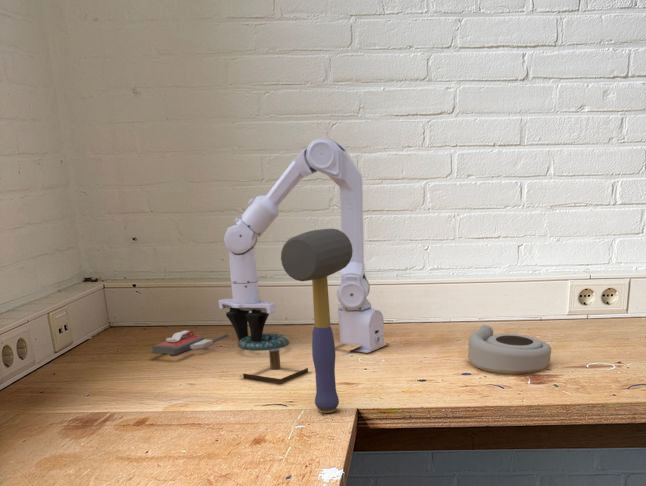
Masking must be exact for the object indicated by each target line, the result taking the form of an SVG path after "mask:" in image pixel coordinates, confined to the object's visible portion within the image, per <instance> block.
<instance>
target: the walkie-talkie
mask: <svg viewBox="0 0 646 486" xmlns="http://www.w3.org/2000/svg"><path fill="white" fill-rule="evenodd" d="M227 337H229V334H228V333H225V334H223V335H220V336H218V337H216V338H214V339H207V338H206V339H205V337H204V336H203V335H195V333H194V331H193V330H180V331H178V332H175V333H173V335H172V336H171V337H167V338H165V341H163V342H161V343H157V344H155V345H152V346H151V350H152V354H153V355H155V354H158V355H163V354H167V355H169V356H170V357H177V356H180V355H182V354H184V353H187V352H189V351H194V350H197V349H203V348H206V347H208V346H210V345H213V344H214V343H215V342H219V341H220V340H222V339H225V338H227Z"/></svg>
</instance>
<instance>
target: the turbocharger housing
mask: <svg viewBox="0 0 646 486" xmlns="http://www.w3.org/2000/svg"><path fill="white" fill-rule="evenodd" d="M551 355H552V347H551V346H550V344H549V343H547V342H545V341H542V340H540V339H539V338H535V337H534V336H529V335H527V334H526V335H525V334H518V333H499V334H494V329H493V327H492V326H491V325H488V324H482V325H481V326H480V327H479V328H478V329H477V330H475V331H473V332H472V333H471V334H470V335H469V338H468V349H467V359H468V361H469V363H470V364H471V365H472V366H474V367H475V368H477V369H480V370H483V371H487V372H491V373H495V374H497V373H498V374H507V375H522V374H531V373H536V372H539V371H540V372H541V371H542V370H544V369H546V368H547V367H548V366H549V365H550V363H551V357H552V356H551Z"/></svg>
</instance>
